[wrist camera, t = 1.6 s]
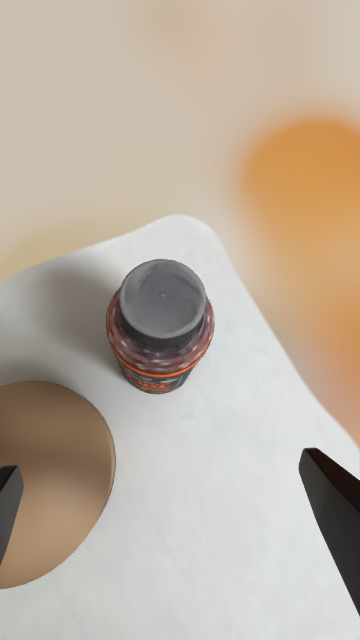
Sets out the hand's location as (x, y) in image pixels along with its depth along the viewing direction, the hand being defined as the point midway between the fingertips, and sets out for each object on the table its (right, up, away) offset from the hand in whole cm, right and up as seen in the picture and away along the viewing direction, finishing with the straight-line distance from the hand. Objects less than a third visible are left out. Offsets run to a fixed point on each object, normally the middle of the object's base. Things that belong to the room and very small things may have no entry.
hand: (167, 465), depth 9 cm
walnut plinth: (-10, -5, +11) cm, 15 cm away
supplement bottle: (-1, +2, +14) cm, 15 cm away
